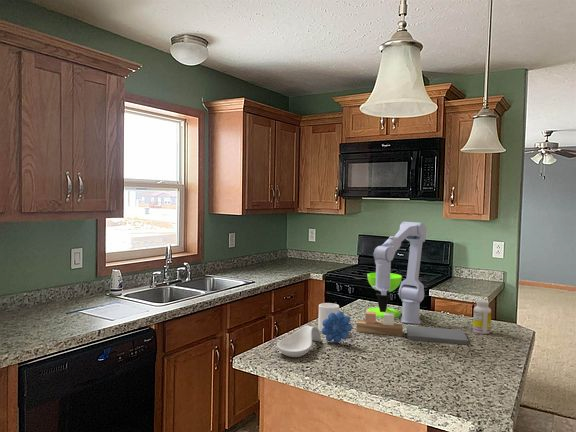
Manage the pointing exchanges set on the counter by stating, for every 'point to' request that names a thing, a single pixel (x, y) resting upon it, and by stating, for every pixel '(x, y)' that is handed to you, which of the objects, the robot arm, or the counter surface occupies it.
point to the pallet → (379, 328)
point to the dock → (436, 335)
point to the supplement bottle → (482, 317)
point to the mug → (326, 312)
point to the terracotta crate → (370, 317)
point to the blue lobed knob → (336, 327)
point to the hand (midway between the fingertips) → (382, 309)
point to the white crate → (388, 318)
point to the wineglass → (394, 283)
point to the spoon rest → (299, 341)
